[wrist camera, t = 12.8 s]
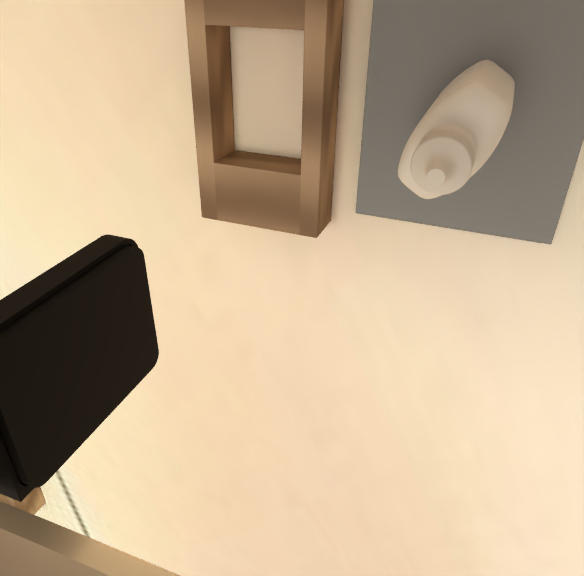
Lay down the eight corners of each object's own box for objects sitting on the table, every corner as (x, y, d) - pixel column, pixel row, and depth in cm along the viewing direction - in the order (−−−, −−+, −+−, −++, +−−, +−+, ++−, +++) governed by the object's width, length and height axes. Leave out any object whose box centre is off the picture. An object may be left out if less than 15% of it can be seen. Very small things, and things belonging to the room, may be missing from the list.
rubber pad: (378, -35, 28) (376, -35, 27) (634, -32, 24) (635, -32, 24) (357, 210, 35) (355, 213, 35) (550, 241, 31) (551, 244, 31)
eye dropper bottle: (404, 95, 30) (346, 151, 20) (505, 48, 27) (493, 89, 17) (430, 164, 31) (389, 248, 22) (529, 127, 28) (532, 205, 19)
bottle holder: (207, -58, 30) (179, -61, 28) (346, -58, 28) (330, -61, 25) (222, 202, 38) (202, 217, 36) (330, 220, 36) (316, 237, 34)
